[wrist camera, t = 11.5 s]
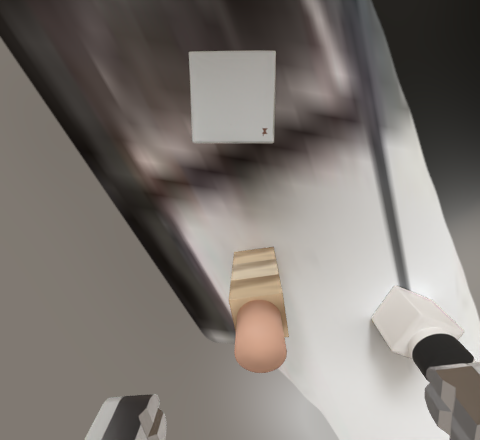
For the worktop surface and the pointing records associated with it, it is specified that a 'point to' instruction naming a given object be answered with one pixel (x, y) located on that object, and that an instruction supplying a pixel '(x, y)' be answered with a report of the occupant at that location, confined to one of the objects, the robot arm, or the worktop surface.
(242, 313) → the pink rounded cylinder
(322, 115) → the worktop surface
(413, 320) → the medicine bottle
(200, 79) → the supplement box
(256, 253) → the tower base
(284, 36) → the worktop surface
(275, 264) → the tower mid
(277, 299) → the tower top
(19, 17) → the worktop surface
